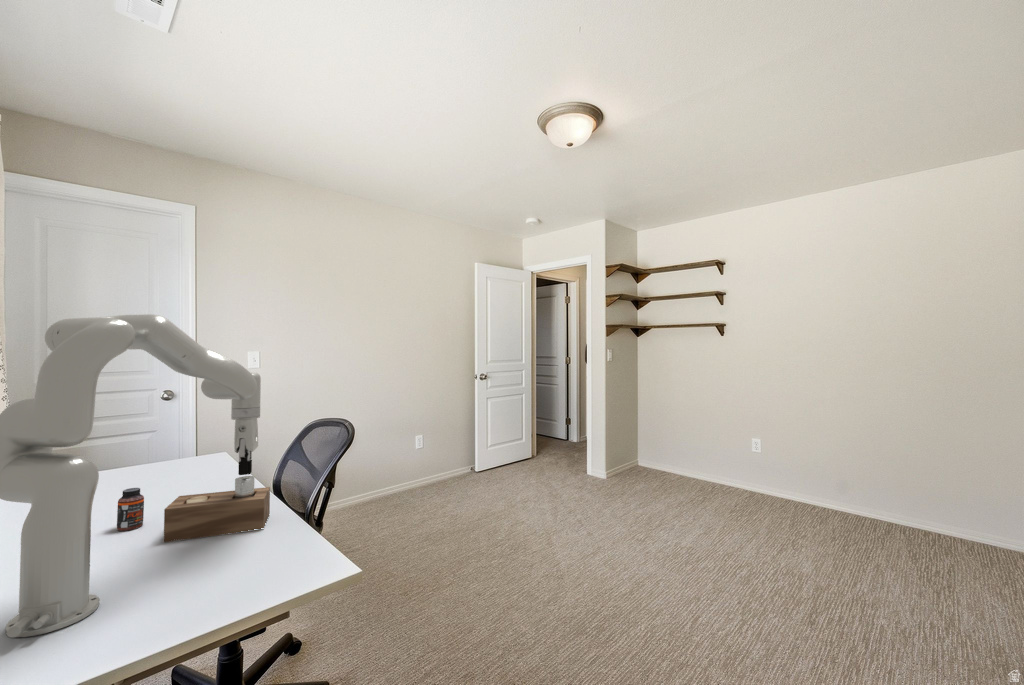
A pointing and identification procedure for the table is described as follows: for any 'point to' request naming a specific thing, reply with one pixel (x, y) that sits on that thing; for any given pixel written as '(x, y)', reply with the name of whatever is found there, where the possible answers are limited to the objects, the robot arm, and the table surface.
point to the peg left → (197, 499)
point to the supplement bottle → (130, 510)
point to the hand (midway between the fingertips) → (245, 473)
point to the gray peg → (244, 487)
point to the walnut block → (215, 515)
